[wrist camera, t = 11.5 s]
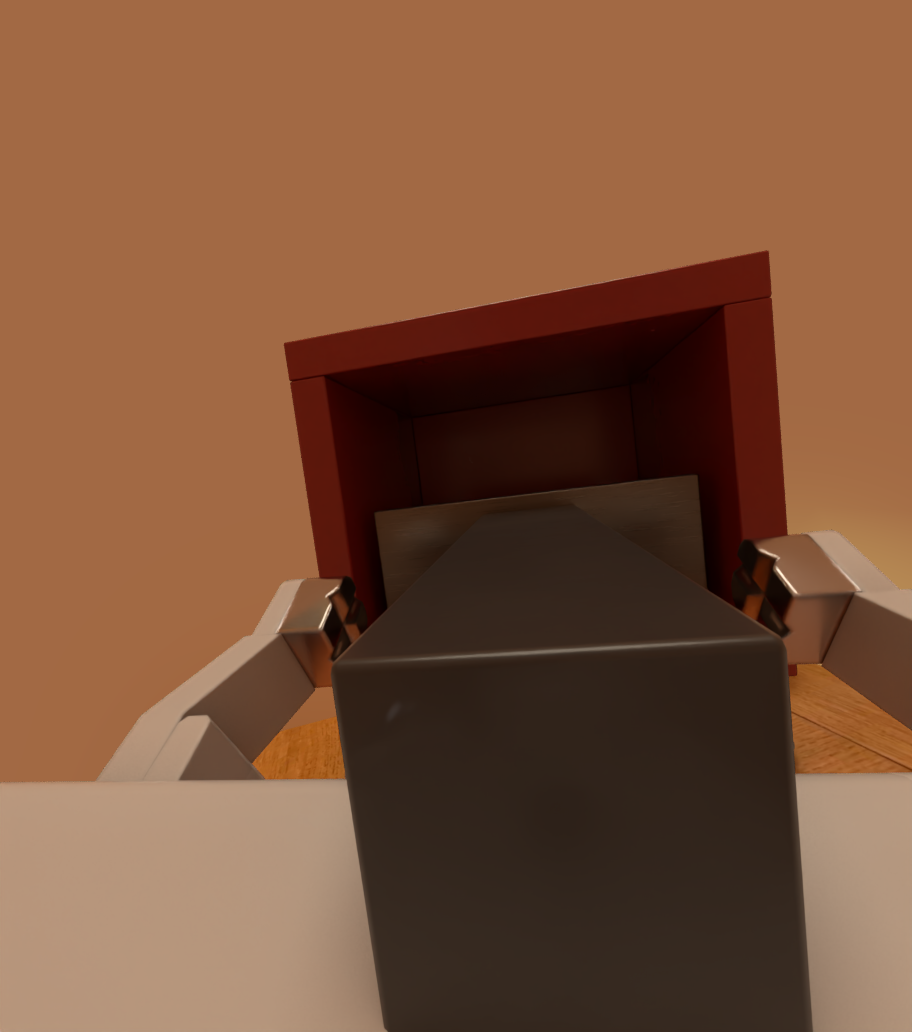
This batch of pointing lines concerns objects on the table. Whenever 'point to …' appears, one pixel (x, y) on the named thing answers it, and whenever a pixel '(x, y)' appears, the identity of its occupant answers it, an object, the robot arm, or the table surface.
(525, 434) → the stand
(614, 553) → the brown piece
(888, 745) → the table surface
